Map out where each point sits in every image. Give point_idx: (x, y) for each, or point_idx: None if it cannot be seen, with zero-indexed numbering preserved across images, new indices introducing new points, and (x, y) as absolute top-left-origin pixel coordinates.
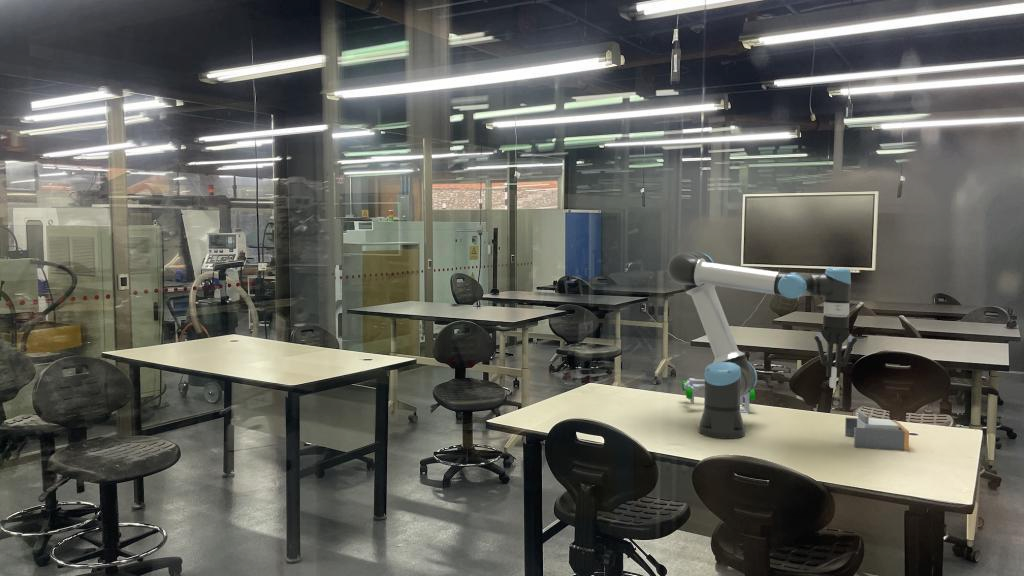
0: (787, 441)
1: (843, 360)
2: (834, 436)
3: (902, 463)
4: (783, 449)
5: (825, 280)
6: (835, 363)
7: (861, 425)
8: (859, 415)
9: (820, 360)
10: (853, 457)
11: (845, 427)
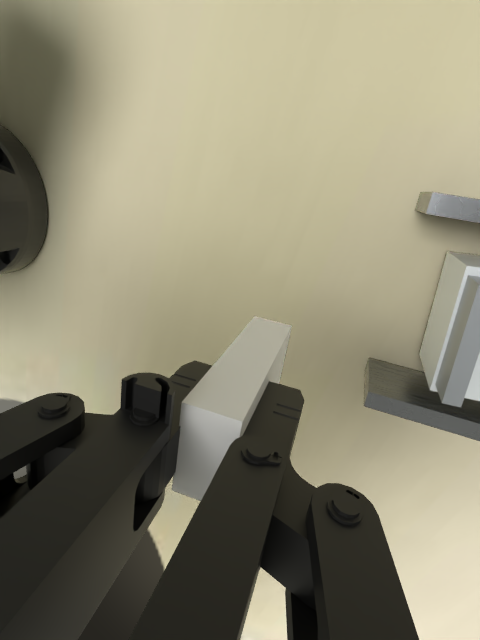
0: (159, 295)
1: (329, 582)
2: (357, 218)
3: (429, 536)
4: None
5: None
6: (218, 475)
7: (440, 335)
8: (467, 301)
9: (2, 417)
10: (303, 466)
11: (423, 197)
